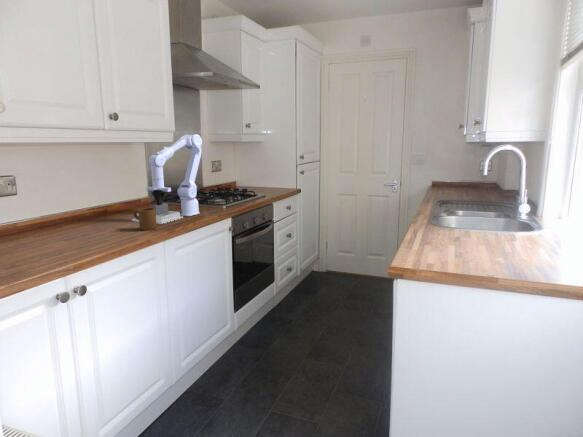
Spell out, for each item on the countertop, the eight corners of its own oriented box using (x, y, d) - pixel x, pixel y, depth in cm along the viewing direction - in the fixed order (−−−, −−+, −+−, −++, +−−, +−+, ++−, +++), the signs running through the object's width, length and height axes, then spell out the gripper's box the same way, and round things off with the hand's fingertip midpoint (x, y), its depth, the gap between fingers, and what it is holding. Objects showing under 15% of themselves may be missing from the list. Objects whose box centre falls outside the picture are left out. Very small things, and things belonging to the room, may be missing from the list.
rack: (154, 215, 227) (153, 209, 226) (183, 218, 218) (182, 211, 218) (131, 221, 213) (131, 214, 212) (161, 224, 204) (161, 217, 204)
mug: (129, 229, 193) (127, 209, 191) (141, 226, 200) (139, 207, 198) (148, 231, 188) (147, 211, 186) (160, 228, 195) (158, 208, 193)
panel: (165, 216, 219) (164, 203, 218) (168, 216, 218) (167, 203, 217) (153, 219, 211) (152, 206, 210) (156, 219, 210) (155, 206, 209)
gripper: (141, 179, 210) (143, 205, 213) (163, 179, 204) (165, 207, 207) (151, 177, 216) (153, 203, 219) (173, 178, 210) (174, 204, 213)
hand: (159, 205), depth 213 cm, fingers closed, pressing on panel
